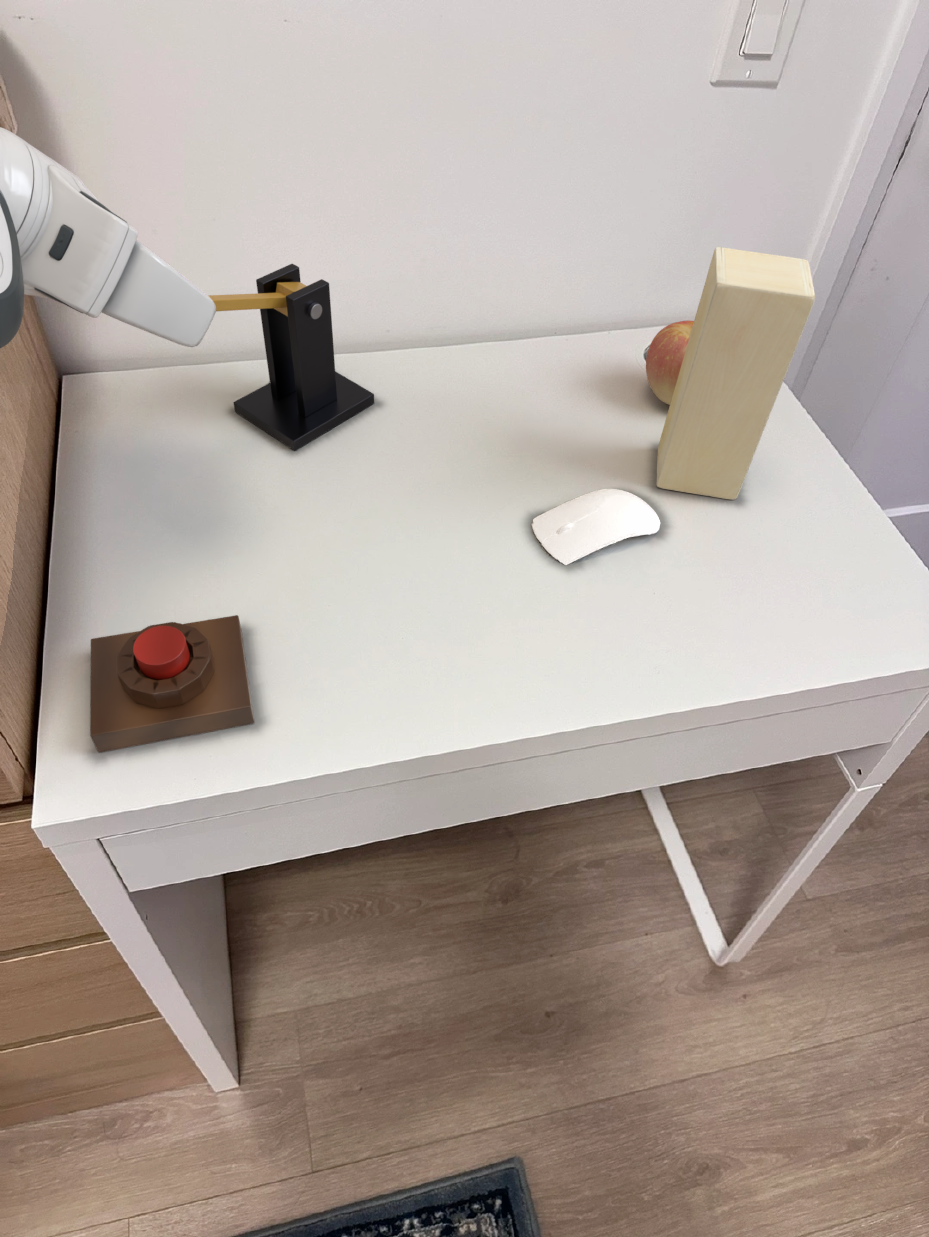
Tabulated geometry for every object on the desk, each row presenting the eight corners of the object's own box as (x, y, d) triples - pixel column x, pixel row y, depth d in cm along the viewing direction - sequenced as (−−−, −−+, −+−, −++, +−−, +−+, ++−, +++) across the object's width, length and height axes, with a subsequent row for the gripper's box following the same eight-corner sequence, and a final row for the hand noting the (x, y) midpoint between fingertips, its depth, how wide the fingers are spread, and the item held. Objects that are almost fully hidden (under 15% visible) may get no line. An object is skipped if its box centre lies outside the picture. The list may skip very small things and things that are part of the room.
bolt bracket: (294, 451, 85) (279, 323, 75) (234, 412, 89) (212, 284, 78) (374, 403, 91) (370, 278, 80) (315, 368, 94) (304, 244, 84)
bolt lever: (175, 333, 69) (178, 303, 68) (137, 309, 71) (139, 279, 70) (321, 321, 81) (326, 296, 80) (285, 301, 83) (289, 276, 82)
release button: (139, 683, 62) (133, 668, 61) (137, 645, 64) (132, 630, 63) (191, 674, 63) (187, 659, 61) (188, 637, 65) (183, 621, 64)
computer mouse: (523, 520, 80) (526, 501, 79) (632, 488, 84) (637, 469, 82) (559, 569, 76) (563, 550, 75) (672, 533, 80) (678, 515, 79)
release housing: (98, 753, 62) (82, 721, 59) (98, 656, 68) (83, 623, 65) (254, 723, 64) (247, 692, 61) (242, 632, 70) (234, 599, 67)
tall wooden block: (736, 454, 88) (809, 254, 73) (738, 501, 84) (816, 298, 68) (657, 442, 89) (712, 241, 73) (655, 488, 84) (713, 284, 68)
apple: (630, 408, 93) (646, 341, 87) (649, 365, 98) (665, 299, 92) (711, 429, 91) (733, 362, 85) (725, 384, 96) (747, 318, 90)
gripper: (-74, 214, 63) (81, 295, 76) (93, 320, 55) (236, 392, 67) (-38, 132, 62) (114, 228, 75) (137, 228, 54) (274, 318, 66)
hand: (173, 307), depth 71 cm, fingers closed on bolt lever, 5 cm apart
